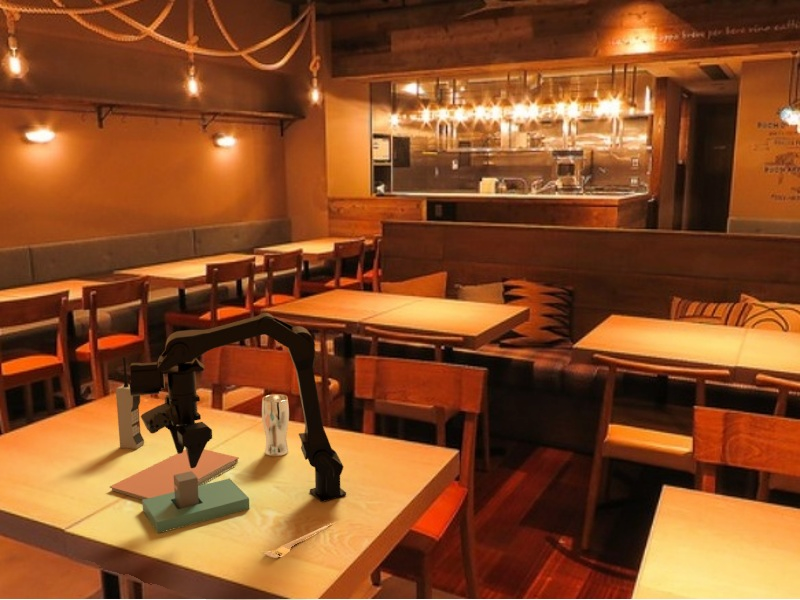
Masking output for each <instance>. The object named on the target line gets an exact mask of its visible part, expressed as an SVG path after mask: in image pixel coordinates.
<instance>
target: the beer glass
mask: <svg viewBox="0 0 800 600" xmlns="http://www.w3.org/2000/svg"><path fill="white" fill-rule="evenodd" d="M261 399H262V402H261V417H262V425H263V429H264V435H265V448H264V454H265V455H266V456H268V457H272V458H273V457H276V458H278V457H283V456H285V455H287V454H288V453H289V447H288V442H287V436H288V435H287V434H288V429H289V428H288V427H289V421H290V420H289V419H290V408H289V407H290V406H289V400H288V399H289V398H288V396H287V395H286V394H281V393H279V394H278V393H277V394H268V395H265V396H263V397H262V398H261Z"/></svg>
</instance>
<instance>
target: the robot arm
mask: <svg viewBox="0 0 800 600" xmlns="http://www.w3.org/2000/svg"><path fill="white" fill-rule="evenodd" d="M262 335H263V336H264V335H266V336H267V337H269V338H271V339H273V340H275V341H276V342H277V343H279V344H281V345H282V346H284V347H285V348H287V351H288V353H289V356H290V359H291V361H292V363H293V367H294V369H295V373H296V380H297V384H298V385H297V386H298V391H299V396H300V402H301V408H302V413H303V421H304V432H302V433H301V432H300V433H298V436H299V439H300V441H301V446H300V449H301V452H302V454H303V457H304V459H305V460H306V461H307V460H308V462H309V465H310V466H311V467H313V468H314V469H315V470H314V475H315V476H314V478H315V479H314V482H315V485H314V486H315V487H313V488H310V489H309V492H310V493H311V494H312V495H313V496H315V498H316V499H318V500H319V501H320V502H326V501H331V500H333V499H338V498H340V497H344V496H347V492H346V491H345V490H344V489H342V488H341V475H342V473H343V470H344V464H343V463H342V461H341V459H340V457H339V455H338V453H337V451H336V450H334V449H333V448H332V446H331V442H330V441H329V438H328V435H327V433H326V431H325V428H324V424H323V419H322V418H323V417H322V413H321V412H322V411H321V407H320V401H319V395H318V390H317V385H316V383H317V382H316V378H315V372H314V371H315V370H314V367H315V366H314V365H315V359H316V342H315V339H314V338H313V336H312V334H311V333H310V332H309V330H308V329H307V328H305V327H303V326H299V325H297V326H293V325H291V324H289V323H287V322H286V321H283V320H281V319H278V318H276V317H274V316H273V315H272V314H270V313H268V312H262V313H260V314H258V315H255V316H252V317H248V318H245V319H240V320H238V321H234V322H231V323H230V322H229V323H226V324H223V325H219V326H215V327H212V328H207V329H187V330H186V329H185V330H178V331H175V332H173V333H171V334H170V335H169V336H168V337H167V339H166V342H165V349H164V351H163V352H162V354H161V355H159V357H158V360H157V361H153V362H143V363H141V362H131V364H130V366H129V367H130V380H129V385H130V393H131V396H139V395H140V396H146V395H147V396H149V395H159V394H160V392H162V389H165V388H166V387H165V385H166V383H165V375H167V376H166V377H167V391H168V394H165V397H164V403H162V404H160V405H157V406H155V407H154V408H152V409H150V410H148V411H145V412H143V413H142V414H141V415H140V418H141V420H142V422H143V424H144V426H145V428H146V430H147V431H148V432H149V433H150V434H155V433H157V432H159V431H160V430H162V429H163V428H166V429H168V430H169V433H170V435H171V438H172V441H173V444H174V447H175V450H176V452H177V453H178V454H180V453H183V451H184V450H186V452H187V456H188V460H189V464H190V468H195V467H196V466H197V463H198V461H199V459H200V457H201V454H202V452H203V450H204V449H205V448H206V446H207V443H209V442H210V441H211V440H212V439H213V429H212V428H210V426H209V425H207V424H206V423H205V422H204V421H201V420H202V419H201V414H200V413H199V412H198V402H200V401H201V399H200V396H199V395H198V393H197V378H196V377H197V376H196V372H203V371H205V366H204V363H202V362H201V361H200V360H198V358H199V357H201V356H203V355H205V353H208V352H209V351H211V350H213V349H217V348H220V347H225V346H227V345H230V344H235V343H238V342H241V341H245V340H249V339H251V338H252V339H253V338H255V337H258V336H262ZM199 420H200V421H199ZM196 421H199V422H196ZM177 453H176V454H177Z"/></svg>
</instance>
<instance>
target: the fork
mask: <svg viewBox="0 0 800 600" xmlns="http://www.w3.org/2000/svg"><path fill="white" fill-rule="evenodd" d="M327 525H328V524H327ZM328 526H329V525H328ZM328 526H326V525H324V526H322V527H320V528H318V529H316V530H313V531H311V532H308V533H307V534H305V535H302V536H301V537H298V538H296V539H294V540H292V541H289V542H288V543H285V544H282V545H281V546H280V547H285V548H287V549H291V550H292V548H293V547H295V546H296V545H295V544H297V543H299V542H301V541H303V540H305V539H306V538H308V537H310V536H312V535H314V534H315V533H318V532H319V531H321V530H323V529H325V528H326V527H328ZM328 528H329V527H328ZM325 530H326V529H325ZM323 531H324V530H323ZM321 532H322V531H321ZM318 534H319V533H318ZM314 536H315V535H314ZM312 537H313V536H312ZM305 541H306V540H305ZM303 542H304V541H303ZM301 543H302V542H301ZM299 544H300V543H299ZM294 545H295V546H294ZM297 545H298V544H297ZM292 546H293V547H292ZM291 547H292V548H291ZM271 551H272V550H270V551H259V552H260V553H262V554H263V555H265V556H267V557H270V558H272V559H273V558H274V559H279V558H278V557H280V556H279V555H277V554H278V553H277V554H275V553H272V552H271ZM276 555H277V556H276Z"/></svg>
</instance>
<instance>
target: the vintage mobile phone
mask: <svg viewBox="0 0 800 600" xmlns="http://www.w3.org/2000/svg"><path fill="white" fill-rule="evenodd" d="M122 363H123V364H122V366H123V384H122V385H121V386H118V387H116V388H115V395H116V407H117V408H116V409H117V411H116V412H117V421H118V422H117V424H118V435H119V448H122V449H128V450H129V449H131V450H137V449H139V448H140V447H142V446H144V444H145V439H144V437H143V435H142V433H141V423H140V408H139V407H140V403H141V395H139V396H131V393H130V384H129V383H128V382H129V381H128V374H127V361H126V356H123V357H122Z"/></svg>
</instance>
